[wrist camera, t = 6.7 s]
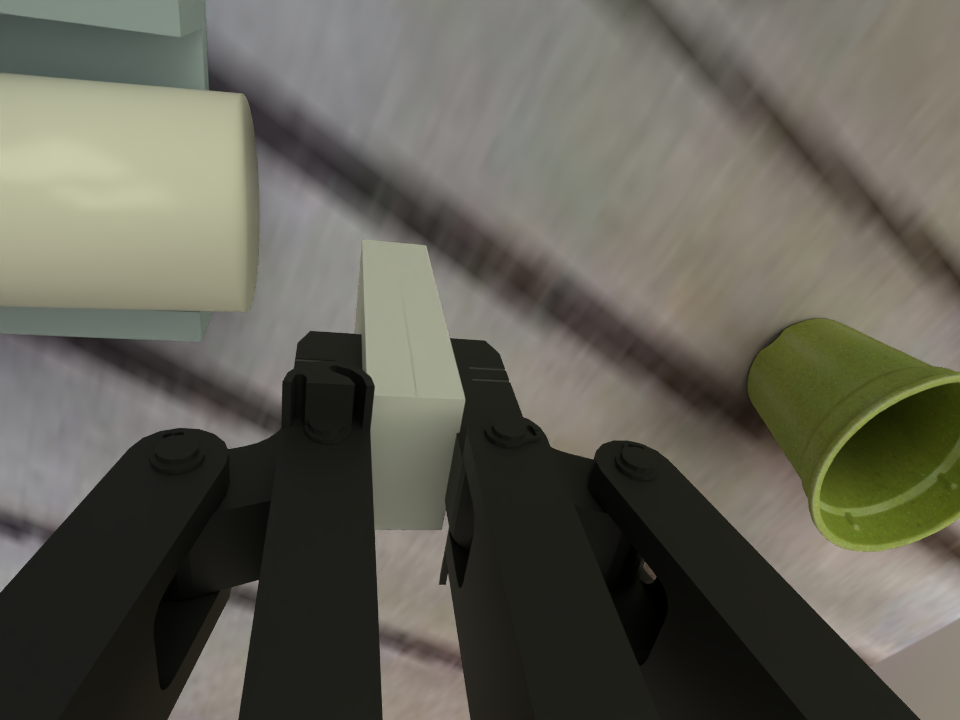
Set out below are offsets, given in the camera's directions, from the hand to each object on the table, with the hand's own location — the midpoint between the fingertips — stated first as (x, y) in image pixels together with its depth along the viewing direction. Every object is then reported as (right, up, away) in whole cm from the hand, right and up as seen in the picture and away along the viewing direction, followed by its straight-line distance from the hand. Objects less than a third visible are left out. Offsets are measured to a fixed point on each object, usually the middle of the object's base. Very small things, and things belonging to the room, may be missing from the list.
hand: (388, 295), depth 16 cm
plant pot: (+19, -2, +19) cm, 27 cm away
